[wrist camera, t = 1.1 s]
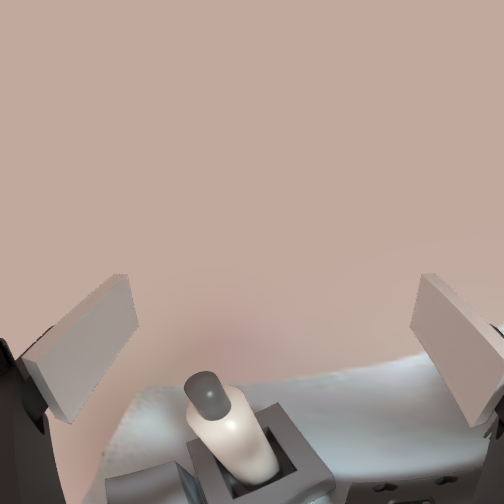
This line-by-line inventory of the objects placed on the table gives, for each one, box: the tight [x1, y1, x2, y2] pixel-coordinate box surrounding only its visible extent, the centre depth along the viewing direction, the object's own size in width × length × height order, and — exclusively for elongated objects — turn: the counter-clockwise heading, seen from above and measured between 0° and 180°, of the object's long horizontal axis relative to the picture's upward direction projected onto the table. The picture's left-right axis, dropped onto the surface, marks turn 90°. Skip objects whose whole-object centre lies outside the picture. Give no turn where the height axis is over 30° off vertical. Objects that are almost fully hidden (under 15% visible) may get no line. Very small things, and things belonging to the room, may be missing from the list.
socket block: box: [186, 403, 335, 504], centre depth 25 cm, size 12×12×5 cm
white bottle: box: [184, 371, 282, 491], centre depth 22 cm, size 5×5×17 cm
